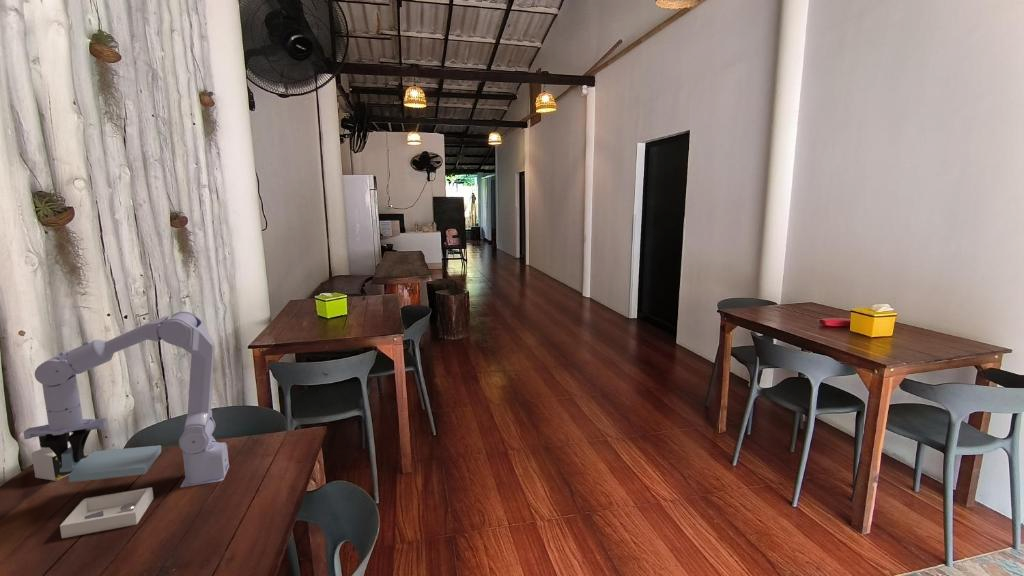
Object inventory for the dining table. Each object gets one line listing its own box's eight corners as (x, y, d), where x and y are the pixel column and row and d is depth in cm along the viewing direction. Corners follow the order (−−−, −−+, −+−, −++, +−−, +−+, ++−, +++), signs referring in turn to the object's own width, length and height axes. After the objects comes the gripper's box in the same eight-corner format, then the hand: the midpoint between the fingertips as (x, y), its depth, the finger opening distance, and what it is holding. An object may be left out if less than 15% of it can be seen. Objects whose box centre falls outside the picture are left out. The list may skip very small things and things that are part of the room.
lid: (161, 451, 120) (160, 432, 119) (145, 474, 109) (144, 453, 109) (77, 459, 113) (76, 439, 113) (51, 484, 103) (50, 462, 102)
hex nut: (138, 506, 107) (138, 501, 107) (133, 513, 105) (133, 508, 104) (123, 509, 106) (123, 504, 106) (118, 516, 104) (118, 511, 103)
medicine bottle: (56, 481, 118) (49, 438, 116) (34, 478, 119) (27, 435, 117) (86, 466, 125) (80, 425, 123) (66, 463, 126) (59, 423, 124)
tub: (153, 500, 110) (152, 487, 110) (137, 526, 101) (135, 512, 101) (86, 512, 106) (84, 498, 105) (62, 540, 97) (59, 525, 96)
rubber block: (103, 517, 103) (102, 510, 103) (103, 521, 102) (102, 515, 102) (85, 522, 101) (84, 516, 101) (85, 527, 100) (84, 520, 100)
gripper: (11, 418, 100) (21, 476, 102) (94, 409, 105) (102, 463, 107) (30, 406, 106) (39, 460, 108) (108, 397, 112) (115, 449, 114)
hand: (72, 461), depth 108 cm, fingers closed on lid
